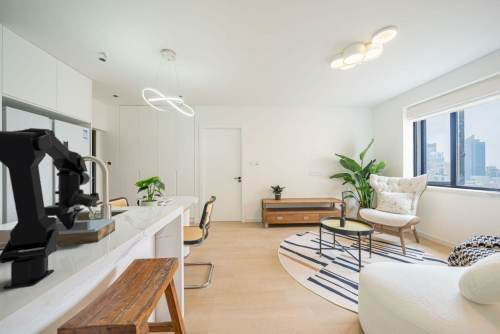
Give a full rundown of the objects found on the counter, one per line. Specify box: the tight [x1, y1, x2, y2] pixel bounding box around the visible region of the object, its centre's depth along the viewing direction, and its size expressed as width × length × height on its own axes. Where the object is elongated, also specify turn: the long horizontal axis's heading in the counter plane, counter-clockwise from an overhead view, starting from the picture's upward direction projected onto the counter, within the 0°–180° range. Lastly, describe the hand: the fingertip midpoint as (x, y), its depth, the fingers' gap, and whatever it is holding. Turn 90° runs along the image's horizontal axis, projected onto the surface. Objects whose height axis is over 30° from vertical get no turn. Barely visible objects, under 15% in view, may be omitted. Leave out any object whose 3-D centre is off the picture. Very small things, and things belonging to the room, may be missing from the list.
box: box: [57, 219, 116, 246], centre depth 79 cm, size 14×14×5 cm
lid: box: [56, 218, 115, 234], centre depth 77 cm, size 15×15×4 cm
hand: (69, 229), depth 68 cm, fingers closed
